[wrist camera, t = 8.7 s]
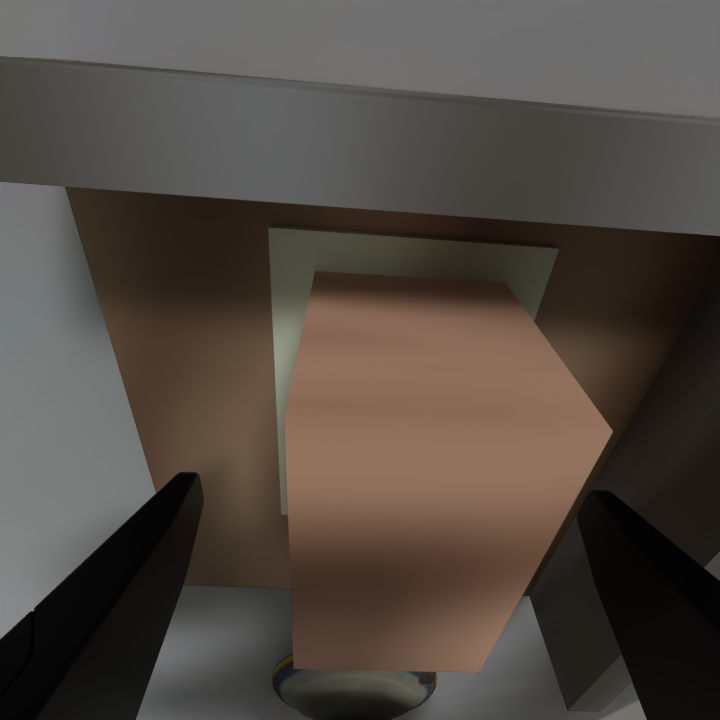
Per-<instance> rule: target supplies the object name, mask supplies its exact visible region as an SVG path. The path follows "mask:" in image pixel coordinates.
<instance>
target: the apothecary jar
mask: <svg viewBox="0 0 720 720" xmlns="http://www.w3.org/2000/svg"><path fill="white" fill-rule="evenodd" d="M272 684H273V688H274V690H275V692H276V693H277V695H278V696H279V697H280V698H281V699H282V700H283V701H284V702H285V703H286V704H287V705H289V706H291V707H293V708H295V709H297V710H298V711H299V712H300V713H301V714H303V715H304V716H306V717H309V718H311V719H315V720H391V719H393V718H396V717H398V716H400V715H402V714H404V713H406V712H407V711H409V710H412V709H414V708H416V707H418V706H419V705H421V704H422V703H423V702H425V701H426V700H427V699H428V698H429V697H430V696H431V695H432V693H433V692H434V690H435V687H436V684H437V674H436V672H419V671H373V670H326V669H294V665H293V654H292V655H290V656H288V657H287V658H286V659H284V660H283V661H281V662H280V663H279V664H278V665H277V667H276V668H275V670H274V672H273V676H272Z"/></svg>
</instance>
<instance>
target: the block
mask: <svg viewBox="0 0 720 720" xmlns="http://www.w3.org/2000/svg"><path fill="white" fill-rule="evenodd" d="M284 417H285V445H286V472H287V500H288V527H289V555H290V582H291V610H292V637H293V665H294V669H326V670H373V671H419V672H466V673H480V671H481V669H482V668H483V666H484V664H485V662H486V660H487V658H488V657H489V655H490V653H491V651H492V649H493V648H494V646H495V644H496V642H497V640H498V639H499V637H500V635H501V633H502V631H503V630H504V628H505V626H506V624H507V622H508V621H509V619H510V617H511V615H512V613H513V612H514V610H515V608H516V606H517V604H518V602H519V601H520V599H521V597H522V595H523V593H524V592H525V590H526V588H527V586H528V584H529V583H530V581H531V579H532V577H533V575H534V574H535V572H536V570H537V568H538V566H539V565H540V563H541V561H542V559H543V557H544V556H545V554H546V552H547V550H548V548H549V546H550V545H551V543H552V541H553V539H554V537H555V536H556V534H557V532H558V530H559V528H560V527H561V525H562V523H563V521H564V519H565V518H566V516H567V514H568V512H569V510H570V509H571V507H572V505H573V503H574V501H575V500H576V498H577V496H578V494H579V492H580V490H581V489H582V487H583V485H584V483H585V481H586V480H587V478H588V476H589V474H590V472H591V471H592V469H593V467H594V465H595V463H596V462H597V460H598V458H599V456H600V454H601V453H602V451H603V449H604V447H605V445H606V444H607V442H608V440H609V438H610V436H611V434H612V433H613V430H612V429H611V428H610V426H609V425H608V424H607V422H606V421H605V419H604V418H603V417H602V415H601V414H600V413H599V411H598V410H597V408H596V407H595V406H594V404H593V403H592V401H591V400H590V399H589V397H588V396H587V395H586V393H585V392H584V390H583V389H582V388H581V386H580V385H579V383H578V382H577V381H576V379H575V378H574V377H573V375H572V374H571V372H570V371H569V370H568V368H567V367H566V366H565V364H564V363H563V361H562V360H561V359H560V357H559V356H558V354H557V353H556V352H555V350H554V349H553V348H552V346H551V345H550V343H549V342H548V341H547V339H546V338H545V337H544V335H543V334H542V332H541V331H540V330H539V328H538V327H537V325H536V324H535V323H534V321H533V320H532V319H531V317H530V316H529V314H528V313H527V312H526V310H525V309H524V307H523V306H522V305H521V303H520V302H519V301H518V299H517V298H516V296H515V295H514V294H513V292H512V291H511V290H510V288H509V287H508V285H507V284H506V283H492V282H477V281H462V280H447V279H431V278H416V277H401V276H385V275H370V274H355V273H339V272H324V271H315V273H314V278H313V282H312V287H311V292H310V297H309V301H308V306H307V311H306V316H305V320H304V325H303V330H302V334H301V339H300V344H299V349H298V353H297V358H296V363H295V368H294V372H293V377H292V382H291V387H290V391H289V396H288V401H287V405H286V410H285V415H284Z"/></svg>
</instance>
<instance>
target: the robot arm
mask: <svg viewBox="0 0 720 720" xmlns="http://www.w3.org/2000/svg"><path fill="white" fill-rule="evenodd" d="M203 504H204V494H203V489H202V484H201V479H200V475H199V474H198V473H197V472H179V473H178V474H176V475H175V476H174V477H173V478H172V479H171V480H170V481H169V482H168V483H167V484H166V485H165V486H163V487H162V488H161V489H160V490H159V491H158V492H157V493H156V494H155V495H154V496H153V497H152V498H151V499H150V500H149V501H148V502H146V503H145V504H144V505H143V506H142V507H141V508H140V509H139V510H138V511H137V512H136V513H135V514H134V515H133V516H132V517H130V518H129V519H128V520H127V521H126V522H125V523H124V524H123V525H122V526H121V527H120V528H119V529H118V530H117V531H116V532H115V533H113V534H112V535H111V536H110V537H109V538H108V539H107V540H106V541H105V542H104V543H103V544H102V545H101V546H100V547H99V548H98V549H96V550H95V551H94V552H93V553H92V554H91V555H90V556H89V557H88V558H87V559H86V560H85V561H84V562H83V563H82V564H80V565H79V566H78V567H77V568H76V569H75V570H74V571H73V572H72V573H71V574H70V575H69V576H68V577H67V578H66V579H65V580H63V581H62V582H61V583H60V584H59V585H58V586H57V587H56V588H55V589H54V590H53V591H52V592H51V593H50V594H49V595H48V596H46V597H45V598H44V599H43V600H42V601H41V602H40V603H39V604H38V605H37V606H36V607H35V608H34V611H31V612H29V613H28V614H27V615H26V616H25V617H24V618H23V619H22V620H21V621H20V622H19V623H17V624H16V625H15V626H14V627H13V628H12V629H11V630H10V631H9V632H8V633H7V634H6V635H5V636H3V637H2V638H1V639H0V720H136V717H137V714H138V711H139V708H140V706H141V703H142V700H143V697H144V694H145V692H146V689H147V686H148V683H149V680H150V677H151V675H152V672H153V669H154V666H155V663H156V661H157V658H158V655H159V652H160V649H161V646H162V644H163V641H164V638H165V635H166V632H167V629H168V627H169V624H170V621H171V618H172V615H173V613H174V610H175V607H176V604H177V601H178V598H179V596H180V593H181V590H182V587H183V584H184V581H185V578H186V575H187V572H188V568H189V564H190V560H191V556H192V551H193V547H194V543H195V539H196V535H197V530H198V526H199V522H200V518H201V513H202V509H203ZM577 522H578V526H579V529H580V533H581V537H582V540H583V544H584V547H585V551H586V555H587V558H588V562H589V566H590V569H591V573H592V576H593V579H594V583H595V586H596V589H597V591H598V594H599V597H600V600H601V602H602V605H603V607H604V610H605V613H606V615H607V618H608V620H609V623H610V625H611V628H612V631H613V633H614V636H615V638H616V641H617V644H618V646H619V649H620V651H621V654H622V657H623V659H624V662H625V664H626V667H627V669H628V672H629V675H630V677H631V680H632V682H633V685H634V688H635V690H636V693H637V695H638V698H639V701H640V703H641V705H642V708H643V711H644V713H645V716H646V718H647V720H720V581H719V580H718V579H717V578H716V577H715V576H713V575H712V574H711V573H710V572H708V571H707V570H706V569H705V568H704V567H702V566H701V565H700V564H699V563H698V562H696V561H695V560H694V559H693V558H691V557H690V556H689V555H688V554H687V553H685V552H684V551H683V550H682V549H680V548H679V547H678V546H677V545H676V544H674V543H673V542H672V541H671V540H669V539H668V538H667V537H666V536H665V535H663V534H662V533H661V532H660V531H658V530H657V529H656V528H655V527H654V526H652V525H651V524H650V523H649V522H648V521H646V520H645V519H644V518H643V517H641V516H640V515H639V514H638V513H637V512H635V511H634V510H633V509H632V508H630V507H629V506H628V505H627V504H626V503H624V502H623V501H622V500H621V499H619V498H618V497H617V496H616V495H615V494H613V493H612V492H610V491H608V490H591V491H589V492H588V493H587V495H586V497H585V499H584V500H583V502H582V504H581V506H580V507H579V509H578V511H577Z"/></svg>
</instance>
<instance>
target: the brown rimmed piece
mask: <svg viewBox="0 0 720 720" xmlns="http://www.w3.org/2000/svg"><path fill="white" fill-rule="evenodd" d="M0 182H12V183H25V184H39V185H52V186H65V188H66V191H67V195H68V198H69V201H70V205H71V208H72V212H73V215H74V218H75V222H76V225H77V228H78V232H79V235H80V238H81V242H82V245H83V249H84V252H85V255H86V259H87V262H88V265H89V269H90V272H91V276H92V279H93V282H94V286H95V289H96V292H97V296H98V299H99V302H100V306H101V309H102V313H103V316H104V319H105V323H106V326H107V329H108V333H109V336H110V339H111V343H112V346H113V350H114V353H115V356H116V360H117V363H118V366H119V370H120V373H121V376H122V380H123V383H124V387H125V390H126V393H127V397H128V400H129V403H130V407H131V410H132V414H133V417H134V420H135V424H136V427H137V430H138V434H139V437H140V440H141V444H142V447H143V451H144V454H145V457H146V461H147V464H148V467H149V471H150V474H151V477H152V481H153V484H154V488H155V491H156V493H157V492H158V491H159V490H160V489H161V488H162V487H163V486H165V485H166V484H167V483H168V482H169V481H170V480H171V479H172V478H173V477H174V476H175V475H176V474H178V473H179V472H197V473H198V474H199V475H200V479H201V484H202V489H203V494H204V504H203V509H202V513H201V518H200V522H199V526H198V530H197V535H196V539H195V543H194V547H193V551H192V556H191V560H190V564H189V568H188V572H187V575H186V578H185V581H184V584H183V585H194V586H225V587H257V588H288V589H291V582H290V555H289V527H288V500H287V472H286V445H285V417H284V415H285V410H286V405H287V401H288V396H289V391H290V387H291V382H292V377H293V372H294V368H295V363H296V358H297V353H298V349H299V344H300V339H301V334H302V330H303V325H304V320H305V316H306V311H307V306H308V301H309V297H310V292H311V287H312V282H313V278H314V273H315V271H324V272H339V273H355V274H370V275H385V276H401V277H416V278H431V279H447V280H462V281H477V282H492V283H506V284H507V285H508V287H509V288H510V290H511V291H512V292H513V294H514V295H515V296H516V298H517V299H518V301H519V302H520V303H521V305H522V306H523V307H524V309H525V310H526V312H527V313H528V314H529V316H530V317H531V319H532V320H533V321H534V323H535V324H536V325H537V327H538V328H539V330H540V331H541V332H542V334H543V335H544V337H545V338H546V339H547V341H548V342H549V343H550V345H551V346H552V348H553V349H554V350H555V352H556V353H557V354H558V356H559V357H560V359H561V360H562V361H563V363H564V364H565V366H566V367H567V368H568V370H569V371H570V372H571V374H572V375H573V377H574V378H575V379H576V381H577V382H578V383H579V385H580V386H581V388H582V389H583V390H584V392H585V393H586V395H587V396H588V397H589V399H590V400H591V401H592V403H593V404H594V406H595V407H596V408H597V410H598V411H599V413H600V414H601V415H602V417H603V418H604V419H605V421H606V422H607V424H608V425H609V426H610V428H611V429H612V430H613V433H612V434H611V436H610V438H609V440H608V442H607V444H606V445H605V447H604V449H603V451H602V453H601V454H600V456H599V458H598V460H597V462H596V463H595V465H594V467H593V469H592V471H591V472H590V474H589V476H588V478H587V480H586V481H585V483H584V485H583V487H582V489H581V490H580V492H579V494H578V496H577V498H576V500H575V501H574V503H573V505H572V507H571V509H570V510H569V512H568V514H567V516H566V518H565V519H564V521H563V523H562V525H561V527H560V528H559V530H558V532H557V534H556V536H555V537H554V539H553V541H552V543H551V545H550V546H549V548H548V550H547V552H546V554H545V556H544V557H543V559H542V561H541V563H540V565H539V566H538V568H537V570H536V572H535V574H534V575H533V577H532V579H531V581H530V583H529V584H528V586H527V588H526V590H525V592H524V593H523V595H522V596H529V597H530V600H531V603H532V606H533V609H534V612H535V615H536V618H537V621H538V624H539V627H540V630H541V633H542V636H543V639H544V642H545V645H546V648H547V651H548V654H549V657H550V660H551V663H552V666H553V669H554V672H555V675H556V678H557V681H558V684H559V687H560V690H561V693H562V696H563V699H564V702H565V705H566V708H567V711H601V710H602V709H603V708H604V707H605V706H606V705H608V704H609V703H610V702H611V701H612V700H613V699H614V698H615V697H616V696H617V695H618V694H619V693H620V692H622V691H623V690H624V689H625V688H626V687H627V686H628V685H629V684H630V683H631V682H632V680H631V677H630V675H629V672H628V669H627V667H626V664H625V662H624V659H623V657H622V654H621V651H620V649H619V646H618V644H617V641H616V638H615V636H614V633H613V631H612V628H611V625H610V623H609V620H608V618H607V615H606V613H605V610H604V607H603V605H602V602H601V600H600V597H599V594H598V591H597V589H596V586H595V583H594V579H593V576H592V573H591V569H590V566H589V562H588V558H587V555H586V551H585V547H584V544H583V540H582V537H581V533H580V529H579V526H578V522H577V511H578V509H579V507H580V506H581V504H582V502H583V500H584V499H585V497H586V495H587V493H588V492H589V491H591V490H608V491H610V492H612V493H613V494H615V495H616V496H617V497H618V498H619V499H621V500H622V501H623V502H624V503H626V504H627V505H628V506H629V507H630V508H632V509H633V510H634V511H635V512H637V513H638V514H639V515H640V516H641V517H643V518H644V519H645V520H646V521H648V522H649V523H650V524H651V525H652V526H654V527H655V528H656V529H657V530H658V531H660V532H661V533H662V534H663V535H665V536H666V537H667V538H668V539H669V540H671V541H672V542H673V543H674V544H676V545H677V546H678V547H679V548H680V549H682V550H683V551H684V552H685V553H687V554H688V555H689V556H690V557H691V558H693V559H694V560H695V561H696V562H698V563H699V564H700V565H701V566H702V567H704V568H705V569H706V570H707V571H708V572H710V573H711V574H712V575H713V576H715V577H716V578H717V579H718V580H719V581H720V119H718V118H707V117H696V116H685V115H673V114H662V113H651V112H640V111H629V110H617V109H606V108H595V107H584V106H573V105H562V104H550V103H539V102H528V101H517V100H506V99H495V98H483V97H472V96H461V95H450V94H439V93H428V92H416V91H405V90H394V89H383V88H372V87H361V86H349V85H338V84H327V83H316V82H305V81H294V80H282V79H271V78H260V77H249V76H238V75H227V74H215V73H204V72H193V71H182V70H171V69H159V68H148V67H137V66H126V65H115V64H104V63H92V62H81V61H70V60H59V59H41V58H23V57H5V56H0Z"/></svg>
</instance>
